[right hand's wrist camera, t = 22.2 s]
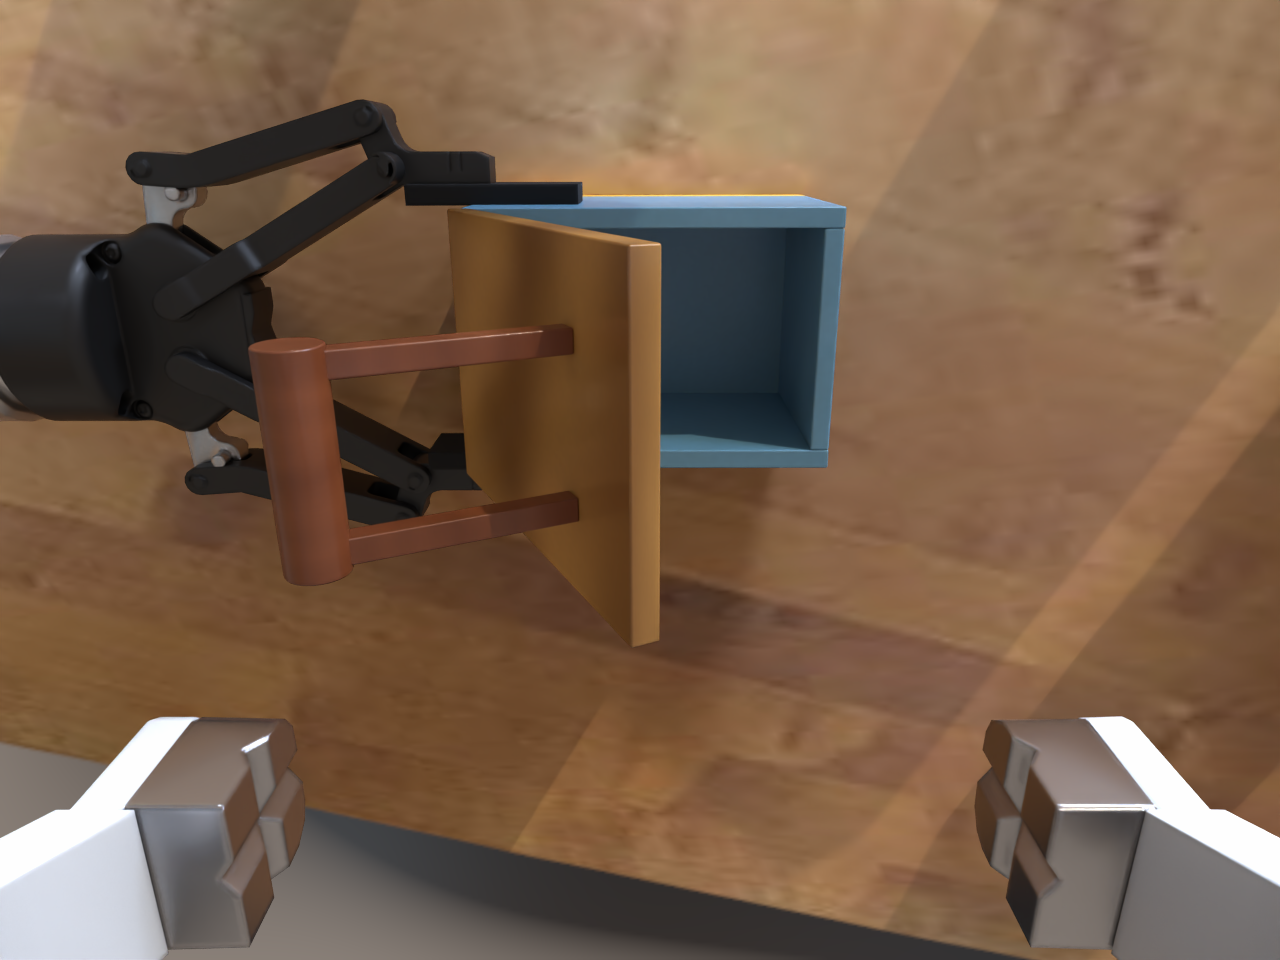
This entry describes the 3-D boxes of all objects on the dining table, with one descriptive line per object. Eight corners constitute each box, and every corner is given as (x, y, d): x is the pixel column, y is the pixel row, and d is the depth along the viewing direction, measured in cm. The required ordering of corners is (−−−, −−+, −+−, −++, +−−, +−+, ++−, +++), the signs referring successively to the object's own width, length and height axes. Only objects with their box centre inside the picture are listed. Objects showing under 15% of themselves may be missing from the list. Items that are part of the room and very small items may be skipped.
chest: (802, 194, 41) (847, 206, 32) (790, 403, 44) (827, 468, 35) (501, 195, 41) (460, 207, 32) (512, 403, 44) (478, 468, 35)
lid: (662, 242, 19) (243, 264, 16) (660, 641, 23) (316, 733, 19) (469, 208, 31) (210, 215, 28) (487, 470, 35) (257, 507, 31)
